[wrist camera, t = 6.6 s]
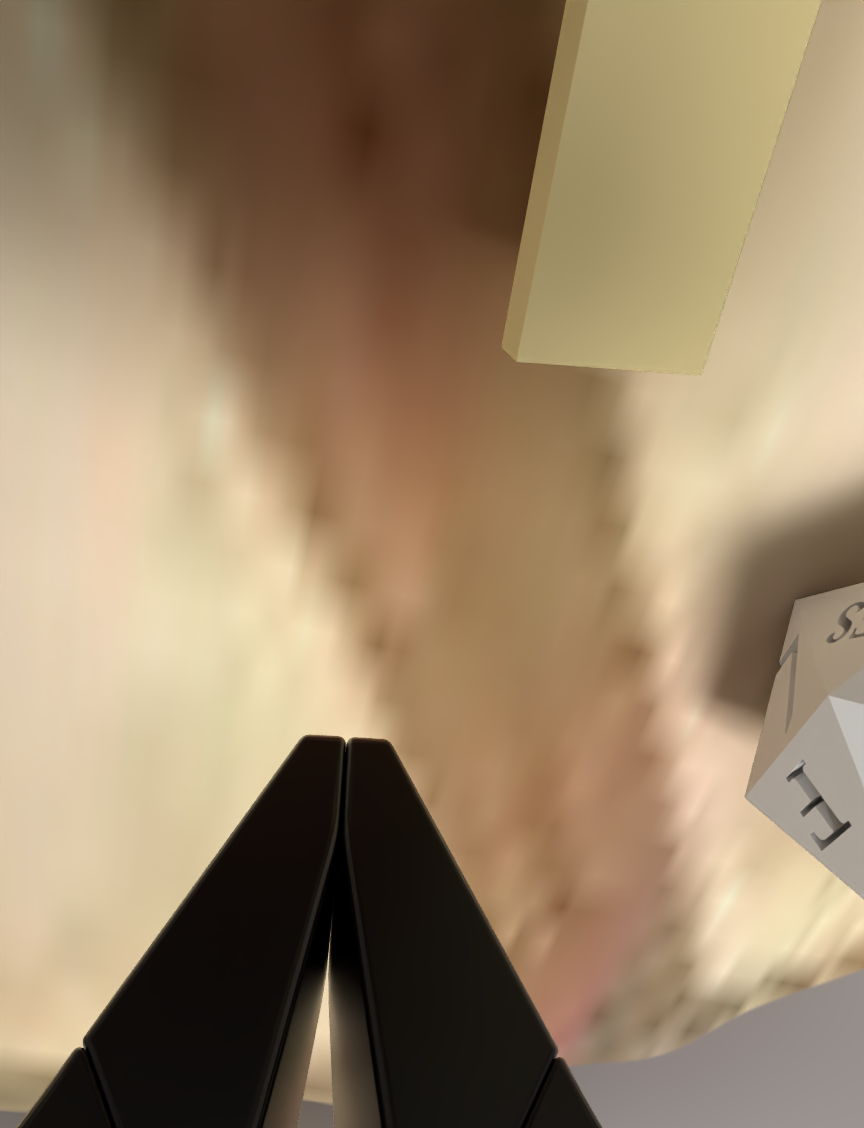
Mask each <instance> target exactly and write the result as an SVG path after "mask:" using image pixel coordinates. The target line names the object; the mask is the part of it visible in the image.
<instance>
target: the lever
mask: <svg viewBox="0 0 864 1128" xmlns="http://www.w3.org/2000/svg"><path fill="white" fill-rule="evenodd" d="M820 4H821V0H566V4H565V9H564V15H563V20H562V25H561V31H560V36H559V41H558V47H557V52H556V57H555V63H554V68H553V73H552V79H551V84H550V89H549V95H548V100H547V105H546V111H545V116H544V121H543V127H542V132H541V137H540V143H539V148H538V153H537V159H536V164H535V169H534V175H533V180H532V185H531V191H530V196H529V201H528V207H527V212H526V217H525V223H524V228H523V233H522V239H521V244H520V249H519V255H518V260H517V265H516V271H515V276H514V281H513V287H512V292H511V297H510V303H509V308H508V313H507V319H506V324H505V329H504V335H503V340H502V345H501V348H502V349H503V350H504V351H505V352H506V353H508V354H509V355H510V356H511V357H512V358H513V359H514V360H515V361H516V362H525V363H539V364H553V365H567V366H580V367H594V368H608V369H622V370H635V371H649V372H663V373H677V374H690V375H701V374H702V371H703V368H704V365H705V362H706V359H707V355H708V352H709V349H710V346H711V343H712V340H713V337H714V334H715V331H716V327H717V324H718V321H719V318H720V315H721V312H722V309H723V306H724V302H725V299H726V296H727V293H728V290H729V287H730V284H731V281H732V278H733V274H734V271H735V268H736V265H737V262H738V259H739V256H740V253H741V250H742V246H743V243H744V240H745V237H746V234H747V231H748V228H749V225H750V222H751V218H752V215H753V212H754V209H755V206H756V203H757V200H758V197H759V194H760V190H761V187H762V184H763V181H764V178H765V175H766V172H767V169H768V165H769V162H770V159H771V156H772V153H773V150H774V147H775V144H776V141H777V137H778V134H779V131H780V128H781V125H782V122H783V119H784V116H785V113H786V109H787V106H788V103H789V100H790V97H791V94H792V91H793V88H794V85H795V81H796V78H797V75H798V72H799V69H800V66H801V63H802V60H803V57H804V53H805V50H806V47H807V44H808V41H809V38H810V35H811V32H812V28H813V25H814V22H815V19H816V16H817V13H818V10H819V7H820Z"/></svg>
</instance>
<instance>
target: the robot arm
mask: <svg viewBox="0 0 864 1128" xmlns="http://www.w3.org/2000/svg"><path fill="white" fill-rule="evenodd" d="M345 751H346V752H345ZM331 922H332V923H331ZM330 932H331V936H330ZM329 943H330V950H329ZM328 953H329V972H328V981H329V1019H330V1044H331V1068H332V1092H333V1114H334V1115H333V1116H334V1128H602V1126H601V1124H600V1123H599V1121H598V1119H597V1117H596V1116H595V1114H594V1112H593V1111H592V1109H591V1107H590V1105H589V1103H588V1102H587V1100H586V1098H585V1096H584V1094H583V1093H582V1091H581V1089H580V1087H579V1085H578V1083H577V1082H576V1080H575V1078H574V1076H573V1074H572V1072H571V1070H570V1069H569V1067H568V1065H567V1063H566V1061H565V1060H564V1059H563V1058H560V1057H559V1058H556V1057H557V1054H558V1048H557V1046H556V1044H555V1042H554V1040H553V1038H552V1037H551V1035H550V1033H549V1031H548V1029H547V1027H546V1026H545V1024H544V1022H543V1020H542V1018H541V1016H540V1015H539V1013H538V1011H537V1009H536V1007H535V1005H534V1004H533V1002H532V1000H531V998H530V996H529V994H528V993H527V991H526V989H525V987H524V985H523V983H522V982H521V980H520V978H519V976H518V974H517V972H516V971H515V969H514V967H513V965H512V963H511V961H510V960H509V958H508V956H507V954H506V952H505V950H504V949H503V947H502V945H501V943H500V941H499V939H498V938H497V936H496V934H495V932H494V930H493V929H492V927H491V925H490V923H489V921H488V919H487V918H486V916H485V914H484V912H483V910H482V908H481V907H480V905H479V903H478V901H477V899H476V897H475V896H474V894H473V892H472V890H471V888H470V886H469V885H468V883H467V881H466V879H465V877H464V875H463V874H462V872H461V870H460V868H459V866H458V864H457V863H456V861H455V859H454V857H453V855H452V853H451V852H450V850H449V848H448V846H447V844H446V842H445V841H444V839H443V837H442V835H441V833H440V831H439V830H438V828H437V826H436V824H435V822H434V820H433V819H432V817H431V815H430V813H429V811H428V809H427V808H426V806H425V804H424V802H423V800H422V798H421V797H420V795H419V793H418V791H417V789H416V788H415V786H414V784H413V782H412V780H411V778H410V777H409V775H408V773H407V771H406V769H405V767H404V766H403V764H402V762H401V760H400V758H399V756H398V755H397V753H396V751H395V749H394V747H393V746H392V744H391V743H390V742H389V741H387V740H385V739H372V738H356V737H354V738H351V739H349V740H348V742H347V744H346V742H345V740H344V739H343V738H342V737H339V736H324V735H306V736H303V737H302V738H301V739H300V740H299V741H298V743H297V744H296V745H295V747H294V748H293V750H292V751H291V752H290V754H289V755H288V757H287V758H286V759H285V761H284V762H283V763H282V765H281V766H280V768H279V769H278V770H277V772H276V773H275V774H274V776H273V777H272V779H271V780H270V781H269V783H268V784H267V785H266V787H265V788H264V790H263V791H262V792H261V794H260V795H259V796H258V798H257V799H256V801H255V802H254V803H253V805H252V806H251V808H250V809H249V810H248V812H247V813H246V814H245V816H244V817H243V819H242V820H241V821H240V823H239V824H238V825H237V827H236V828H235V830H234V831H233V832H232V834H231V835H230V836H229V838H228V839H227V841H226V842H225V843H224V845H223V846H222V847H221V849H220V850H219V852H218V853H217V854H216V856H215V857H214V859H213V860H212V861H211V863H210V864H209V865H208V867H207V868H206V870H205V871H204V872H203V874H202V875H201V876H200V878H199V879H198V881H197V882H196V883H195V885H194V886H193V887H192V889H191V890H190V892H189V893H188V894H187V896H186V897H185V898H184V900H183V901H182V903H181V904H180V905H179V907H178V908H177V910H176V911H175V912H174V914H173V915H172V916H171V918H170V919H169V921H168V922H167V923H166V925H165V926H164V927H163V929H162V930H161V932H160V933H159V934H158V936H157V937H156V938H155V940H154V941H153V943H152V944H151V945H150V947H149V948H148V949H147V951H146V952H145V954H144V955H143V956H142V958H141V959H140V961H139V962H138V963H137V965H136V966H135V967H134V969H133V970H132V972H131V973H130V974H129V976H128V977H127V978H126V980H125V981H124V983H123V984H122V985H121V987H120V988H119V989H118V991H117V992H116V994H115V995H114V996H113V998H112V999H111V1000H110V1002H109V1003H108V1005H107V1006H106V1007H105V1009H104V1010H103V1012H102V1013H101V1014H100V1016H99V1017H98V1018H97V1020H96V1021H95V1023H94V1024H93V1025H92V1027H91V1028H90V1029H89V1031H88V1032H87V1034H86V1035H85V1036H84V1038H83V1047H84V1048H81V1047H79V1048H76V1049H75V1050H74V1051H73V1052H72V1053H71V1055H70V1056H69V1058H68V1059H67V1060H66V1062H65V1063H64V1064H63V1066H62V1067H61V1069H60V1070H59V1071H58V1073H57V1074H56V1076H55V1077H54V1078H53V1080H52V1081H51V1082H50V1084H49V1085H48V1087H47V1088H46V1089H45V1091H44V1092H43V1093H42V1095H41V1096H40V1098H39V1099H38V1100H37V1102H36V1103H35V1104H34V1106H33V1107H32V1108H31V1109H30V1111H29V1112H28V1113H27V1115H26V1116H25V1117H24V1119H23V1120H22V1121H21V1122H20V1124H19V1125H18V1126H17V1128H297V1125H298V1120H299V1115H300V1110H301V1105H302V1100H303V1095H304V1089H305V1084H306V1079H307V1074H308V1069H309V1064H310V1059H311V1054H312V1048H313V1043H314V1038H315V1033H316V1028H317V1023H318V1018H319V1013H320V1007H321V1002H322V996H323V990H324V984H325V978H326V971H327V962H328Z"/></svg>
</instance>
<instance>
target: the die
mask: <svg viewBox="0 0 864 1128" xmlns="http://www.w3.org/2000/svg"><path fill="white" fill-rule="evenodd" d="M779 663H780V665H781V668H780V670H779V671H778V673H777V674H776V677H775V681H774V684H773V688H772V692H771V696H770V700H769V704H768V708H767V712H766V716H765V720H764V723H763V727H762V731H761V735H760V739H759V743H758V747H757V751H756V755H755V759H754V762H753V766H752V770H751V774H750V778H749V782H748V786H747V790H746V794H745V798H746V799H747V800H748V801H749V802H750V803H751V804H753V805H754V806H755V807H756V808H757V809H758V810H760V811H761V812H762V813H763V814H764V815H765V816H767V817H768V818H769V819H770V820H771V821H772V822H774V823H775V824H776V825H777V826H778V827H780V828H781V829H782V830H783V831H784V832H785V833H787V834H788V835H789V836H790V837H791V838H792V839H794V840H795V841H796V842H797V843H798V844H799V845H801V846H802V847H803V848H804V849H805V850H806V851H808V852H809V853H810V854H811V855H812V856H814V857H815V858H816V859H817V860H818V861H819V862H821V863H822V864H823V865H824V866H825V867H826V868H828V869H829V870H830V871H831V872H832V873H833V874H835V875H836V876H837V877H838V878H839V879H840V880H842V881H843V882H844V883H845V884H846V885H847V886H849V887H850V888H851V889H852V890H853V891H855V892H856V893H857V894H858V895H859V896H860V897H862V898H863V899H864V582H863V583H859V584H855V585H852V586H848V587H844V588H840V589H836V590H832V591H828V592H824V593H820V594H817V595H813V596H809V597H805V598H801V599H797V600H795V603H794V607H793V610H792V614H791V618H790V622H789V626H788V630H787V634H786V638H785V642H784V646H783V649H782V653H781V657H780V661H779Z"/></svg>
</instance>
